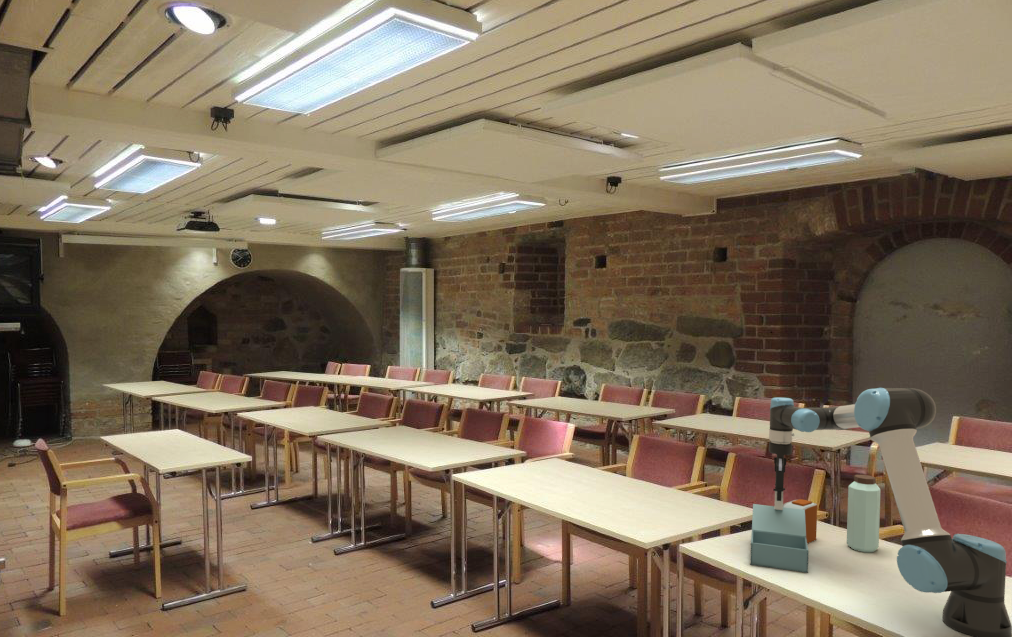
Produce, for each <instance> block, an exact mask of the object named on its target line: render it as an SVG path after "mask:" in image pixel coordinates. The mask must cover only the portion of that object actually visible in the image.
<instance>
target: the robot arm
mask: <svg viewBox="0 0 1012 637" xmlns="http://www.w3.org/2000/svg"><path fill="white" fill-rule="evenodd" d="M936 414H937V405H936V403H935V401H934V398H932V396H931V395H930V394H928V393H927V392H925V391H923V389H922V390H921V389H918V388H911V387H906V388H904V387H903V388H900V387H898V388H897V387H895V388H894V387H877V388H869V389H866V390H864V391H861V393H860V394H859V395H858V397H857V398H856V402H855V403H853V404H846V405H840V406H830V407H829V406H828V407H799V406H795V404H794V400H793V399H792V398H789V397H772V398H771V399H770V407H769V429H768V430H769V434H768V439H769V443H768V452H769V453H770V454H773V455H776V457H775V456H774V457H773V464H774V472H775V483H774V486H775V487H774V488H773V489H772V491H773V492H774V505H773V506H774V509H777V510H783V504H784V491H786V488H785V487H784V485H785V484H784V483H785V481H784V480H785V473H786V466H787V458H786V457H785V456H789V455H790V456H791V455H792V453H793V444H792V442H793V437H795V433H793V430H796V431H799V432H801V433H804V432H805V433H813V432H814V431H826V430H827V431H828V430H831V431H833V430H835V431H843V430H848V429H855V428H861V429H862V430H865V431H868V434H869V438H870V440H871V441H872V442H874V443H876V444H877V445H878V447H879V450H880V453H881V457H882V460H883V463H884V466H885V470H886V473H887V477H888V479H889V480H888V481H889V483H890V486H891V490H892V493H893V497H894V500H895V504H896V507H897V510H898V513H899V516H900V520H901V523H902V527H903V530H904V534H903V536H902V537H901V539H900V543H901V545H902V546H901V547H900V548H899V549H898V551H897V555H898V556H896V564H897V569H898V571H899V573H900V575H901V576H902V578H903V580H904V581H905V582H906V583H907V584H908V585H910V586H911V587H912V588H913V589H915V590H916V591H918V592H921V593H925V594H926V593H932V594H942V593H944V592H945V593H946V592H950V593H949V596H948V598H947V600H946V602H945V605H944V606H943V609H942V617H941V620H942V621H943V622H944V624H946V626H948V627H950V628H951V629H953V630H955V631H958V633H959V632H960V633H963V634H965V635H968V636H972V637H1012V622H1011V619H1010V616H1009V613H1008V610H1007V607H1006V606H1007V605H1006V604H1005V603H1006V602H1005V596H1006V595H1005V594H1006V577H1007V576H1006V573H1007V563H1008V561H1007V552H1006V550H1005V548H1004V546H1003V545H1001V544H1000V543H997V542H996V541H993V540H990V539H987V538H983V537H979V536H976V535H972V534H971V535H970V534H965V533H964V534H963V533H955V534H953V536H951V533H949V532H948V531H946V530H944V529H943V528H942V525H941V523H940V519H939V516H938V513H937V510H936V508H935V502H934V501H933V498H932V495H931V494H932V493H931V492H930V487H929V485H928V482H927V479H926V476H925V473H924V470H923V466H922V463H921V460H920V458H919V454H918V450H917V448H916V444H915V442H914V437H915V435H916V434H917V431H918V430H917V429H922V428H925V427H927V426H928V425H930V424H931V423H932V422H933V421H934V419H935V418H936Z"/></svg>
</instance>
